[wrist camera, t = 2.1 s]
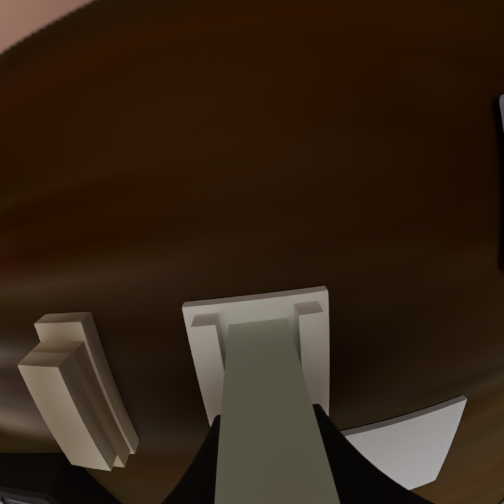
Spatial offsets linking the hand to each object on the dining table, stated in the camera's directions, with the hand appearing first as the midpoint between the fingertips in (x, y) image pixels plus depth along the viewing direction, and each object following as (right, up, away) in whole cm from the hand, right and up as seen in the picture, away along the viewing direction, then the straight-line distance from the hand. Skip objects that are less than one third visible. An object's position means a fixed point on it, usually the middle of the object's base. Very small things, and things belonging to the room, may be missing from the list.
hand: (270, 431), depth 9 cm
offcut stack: (-8, 0, +3) cm, 8 cm away
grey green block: (0, +1, +2) cm, 2 cm away
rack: (0, +1, +3) cm, 3 cm away
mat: (+7, -6, +5) cm, 10 cm away
